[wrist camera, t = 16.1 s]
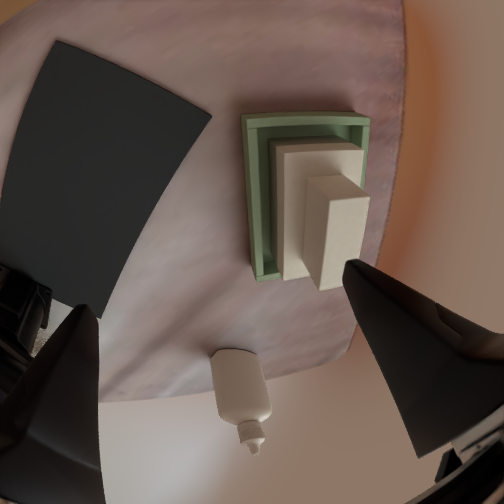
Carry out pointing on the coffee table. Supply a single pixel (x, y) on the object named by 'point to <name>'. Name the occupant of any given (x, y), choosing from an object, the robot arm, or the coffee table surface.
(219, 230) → the coffee table surface
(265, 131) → the tray
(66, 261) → the mat
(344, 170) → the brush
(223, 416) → the eye dropper bottle
